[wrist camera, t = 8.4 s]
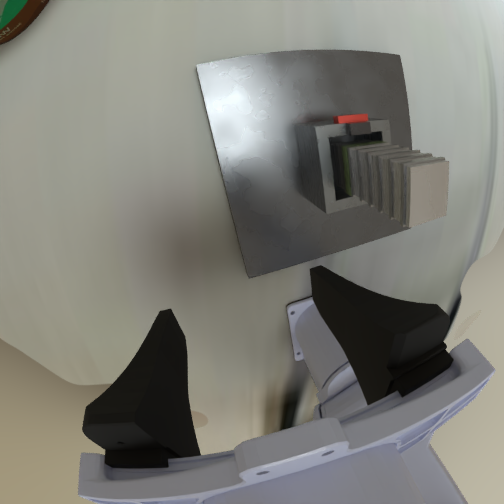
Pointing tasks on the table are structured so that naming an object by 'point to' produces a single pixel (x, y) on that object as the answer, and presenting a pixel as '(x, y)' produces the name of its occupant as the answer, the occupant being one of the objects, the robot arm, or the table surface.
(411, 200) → the lift column
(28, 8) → the food container
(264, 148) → the stand base
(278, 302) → the table surface
